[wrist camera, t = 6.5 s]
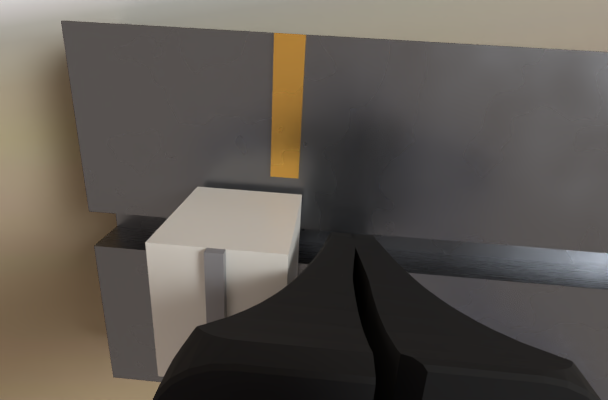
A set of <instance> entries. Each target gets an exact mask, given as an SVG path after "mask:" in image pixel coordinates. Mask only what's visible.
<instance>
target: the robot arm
mask: <svg viewBox="0 0 608 400" xmlns="http://www.w3.org/2000/svg"><path fill="white" fill-rule="evenodd" d="M153 400H601V399H600V398H599V396H598V395H597V393H596V392H595V391H594V389H593V388H592V387H591V385H590V384H589V382H588V381H587V380H586V378H585V377H584V376H583V374H582V373H581V372H580V370H579V369H578V368H577V366H576V365H575V364H574V363H573V361H571V360H568V359H565V358H563V357H560V356H557V355H554V354H552V353H549V352H546V351H543V350H541V349H538V348H535V347H532V346H530V345H527V344H524V343H522V342H520V341H517V340H515V339H513V338H511V337H508V336H506V335H504V334H502V333H500V332H497V331H495V330H493V329H491V328H489V327H487V326H485V325H483V324H481V323H479V322H477V321H476V320H474V319H472V318H470V317H469V316H467V315H465V314H463V313H462V312H460V311H458V310H456V309H455V308H453V307H452V306H450V305H449V304H447V303H446V302H444V301H443V300H441V299H440V298H438V297H437V296H436V295H434V294H433V293H431V292H430V291H429V290H427V289H426V288H425V287H424V286H422V285H421V284H420V283H419V282H418V281H417V280H415V279H414V278H413V277H412V276H411V275H410V274H409V273H408V272H406V271H405V270H404V269H403V268H402V267H401V266H400V265H399V264H398V263H397V262H396V261H395V260H394V259H393V258H392V257H391V255H390V254H389V253H388V252H387V251H386V250H385V249H384V248H383V247H382V245H381V244H380V243H379V242H378V241H377V240H376V239H375V237H374V236H373V235H362V234H350V233H337V232H332V233H330V234H329V235H328V237H327V239H326V241H325V243H324V245H323V246H322V248H321V250H320V251H319V252H318V254H317V255H316V256H315V258H314V259H313V260H312V261H311V263H310V264H309V265H308V266H307V267H306V268H305V269H304V270H303V271H302V272H301V273H300V274H299V275H298V276H297V277H296V278H295V279H294V280H293V281H292V282H291V283H289V284H288V285H287V286H286V287H284V288H283V289H282V290H281V291H279V292H278V293H276V294H274V295H273V296H271V297H269V298H268V299H266V300H265V301H263V302H261V303H259V304H257V305H255V306H253V307H251V308H249V309H246V310H244V311H242V312H239V313H237V314H234V315H232V316H229V317H226V318H223V319H219V320H216V321H213V322H210V323H207V324H203V325H199V326H197V327H196V328H195V329H194V330H193V332H192V333H191V334H190V336H189V337H188V338H187V340H186V341H185V343H184V344H183V345H182V347H181V348H180V350H179V351H178V353H177V354H176V355H175V357H174V359H173V360H172V362H171V364H170V366H169V367H168V369H167V371H166V373H165V375H164V377H163V379H162V381H161V383H160V385H159V387H158V389H157V392H156V394H155V396H154V398H153Z"/></svg>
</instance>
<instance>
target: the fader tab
mask: <svg viewBox="0 0 608 400" xmlns="http://www.w3.org/2000/svg"><path fill="white" fill-rule="evenodd" d="M301 202H302V195H300V194H287V193H274V192H261V191H248V190H235V189H222V188H209V187H197V188H196V189H195V190H194V191H193V192H192V193H191V194H190V195H189V196H188V197H187V198H186V199H185V201H184V202H183V203H182V204H181V205H180V206H179V207H178V208H177V209H176V210H175V211H174V212H173V213H172V214H171V216H170V217H169V218H168V219H167V220H166V221H165V222H164V223H163V224H162V225H161V226H160V227H159V228H158V229H157V230H156V232H155V233H154V234H153V235H152V236H151V237H150V238H149V239H148V240H147V241H146V242H145V245H146V256H147V266H148V277H149V287H150V297H151V308H152V318H153V329H154V339H155V349H156V360H157V370H158V376H161V377H164V375H165V373H166V371H167V369H168V367H169V366H170V364H171V362H172V360H173V359H174V357H175V355H176V354H177V353H178V351H179V350H180V348H181V347H182V345H183V344H184V343H185V341H186V340H187V338H188V337H189V336H190V334H191V333H192V332H193V330H194V329H195V328H196V327H197V326H199V325H203V324H207V323H210V322H213V321H216V320H219V319H223V318H226V317H229V316H232V315H234V314H237V313H239V312H242V311H244V310H246V309H249V308H251V307H253V306H255V305H257V304H259V303H261V302H263V301H265V300H266V299H268V298H269V297H271V296H273V295H274V294H276V293H278V292H279V291H281V290H282V289H283V288H284V287H286V286H287V285H288V284H289V283H291V282H292V281H293V280H294V279H295V278H296V277H297V274H298V256H299V238H300V220H301Z"/></svg>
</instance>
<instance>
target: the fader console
mask: <svg viewBox="0 0 608 400" xmlns="http://www.w3.org/2000/svg"><path fill="white" fill-rule="evenodd" d="M61 24H62V31H63V38H64V44H65V51H66V58H67V65H68V72H69V78H70V85H71V92H72V99H73V106H74V112H75V119H76V126H77V133H78V140H79V146H80V153H81V160H82V167H83V174H84V180H85V187H86V194H87V201H88V208H89V211H91V212H104V213H116V220H117V227H116V228H114V229H113V230H112V231H111V232H110V233H109V234H107V235H106V236H105V237H104V238H103V239H102V240H101V241H99V242H98V243H97V244H96V245H95V246H94V248H95V255H96V262H97V269H98V276H99V282H100V289H101V296H102V303H103V310H104V316H105V323H106V330H107V337H108V344H109V350H110V357H111V364H112V371H113V377H117V378H126V379H136V380H146V381H156V382H161V381H162V379H163V377H161V376H158V370H157V360H156V349H155V339H154V329H153V318H152V308H151V297H150V287H149V277H148V266H147V256H146V245H145V242H146V241H147V240H148V239H149V238H150V237H151V236H152V235H153V234H154V233H155V232H156V230H157V229H158V228H159V227H160V226H161V225H162V224H163V223H164V222H165V221H166V220H167V219H168V218H169V217H170V216H171V214H172V213H173V212H174V211H175V210H176V209H177V208H178V207H179V206H180V205H181V204H182V203H183V202H184V201H185V199H186V198H187V197H188V196H189V195H190V194H191V193H192V192H193V191H194V190H195V189H196V188H197V187H209V188H222V189H235V190H248V191H261V192H274V193H287V194H300V195H302V202H301V220H300V238H299V256H298V274H297V276H298V275H299V274H300V273H301V272H302V271H303V270H304V269H305V268H306V267H307V266H308V265H309V264H310V263H311V261H312V260H313V259H314V258H315V256H316V255H317V254H318V252H319V251H320V250H321V248H322V246H323V245H324V243H325V241H326V239H327V237H328V235H329V234H330V233H332V232H337V233H350V234H362V235H373V236H374V237H375V239H376V240H377V241H378V242H379V243H380V244H381V245H382V247H383V248H384V249H385V250H386V251H387V252H388V253H389V254H390V255H391V257H392V258H393V259H394V260H395V261H396V262H397V263H398V264H399V265H400V266H401V267H402V268H403V269H404V270H405V271H406V272H408V273H409V274H410V275H411V276H412V277H413V278H414V279H415V280H417V281H418V282H419V283H420V284H421V285H422V286H424V287H425V288H426V289H427V290H429V291H430V292H431V293H433V294H434V295H436V296H437V297H438V298H440V299H441V300H443V301H444V302H446V303H447V304H449V305H450V306H452V307H453V308H455V309H456V310H458V311H460V312H462V313H463V314H465V315H467V316H469V317H470V318H472V319H474V320H476V321H477V322H479V323H481V324H483V325H485V326H487V327H489V328H491V329H493V330H495V331H497V332H500V333H502V334H504V335H506V336H508V337H511V338H513V339H515V340H517V341H520V342H522V343H524V344H527V345H530V346H532V347H535V348H538V349H541V350H543V351H546V352H549V353H552V354H554V355H557V356H560V357H563V358H565V359H568V360H571V361H573V363H574V364H575V365H576V366H577V368H578V369H579V370H580V372H581V373H582V374H583V376H584V377H585V378H586V380H587V381H588V382H589V384H590V385H591V387H592V388H593V389H594V391H595V392H596V393H597V395H598V396H599V398H600V399H601V400H608V52H594V51H577V50H560V49H542V48H525V47H508V46H490V45H473V44H456V43H439V42H421V41H404V40H387V39H370V38H352V37H335V36H318V35H300V34H283V33H266V32H249V31H231V30H214V29H197V28H180V27H162V26H145V25H128V24H110V23H93V22H76V21H61Z"/></svg>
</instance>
